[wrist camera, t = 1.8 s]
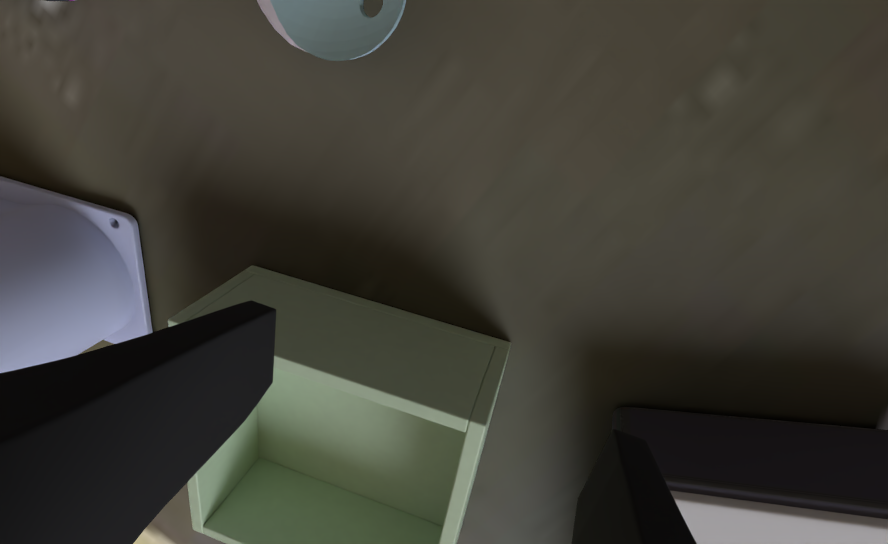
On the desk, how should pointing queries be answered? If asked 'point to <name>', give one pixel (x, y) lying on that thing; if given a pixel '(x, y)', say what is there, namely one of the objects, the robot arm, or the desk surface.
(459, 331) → the green storage bin
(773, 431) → the calculator
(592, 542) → the robot arm
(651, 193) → the desk surface
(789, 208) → the desk surface
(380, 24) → the pacifier
